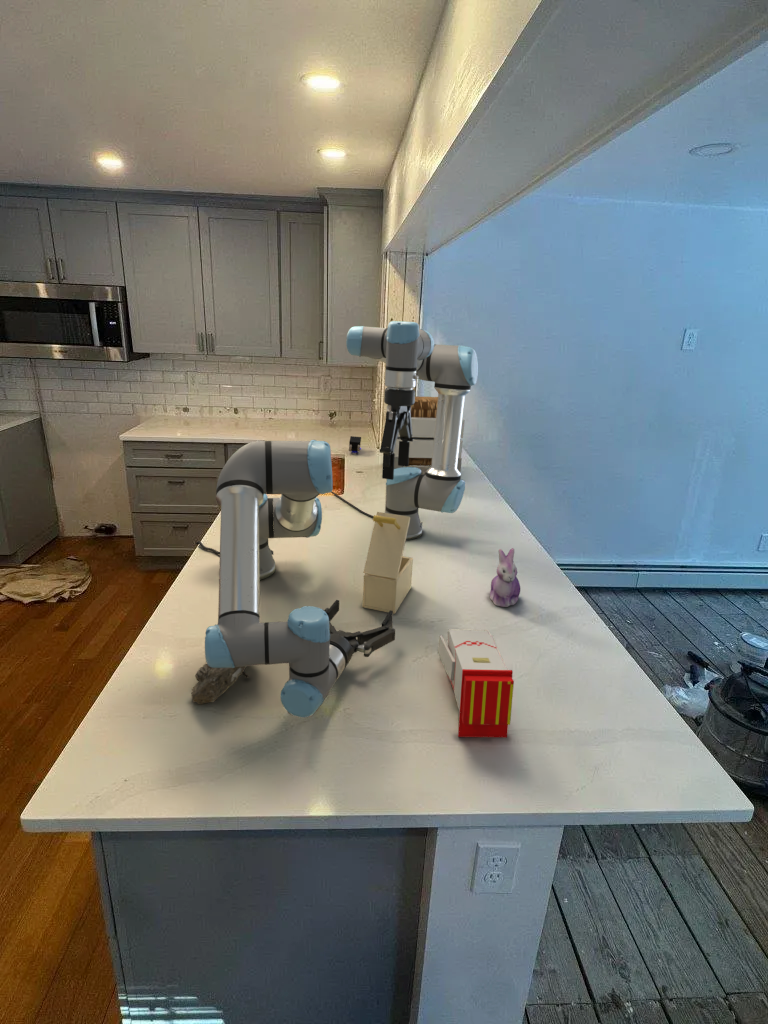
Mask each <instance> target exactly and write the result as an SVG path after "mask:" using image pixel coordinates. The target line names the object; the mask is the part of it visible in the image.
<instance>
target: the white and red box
mask: <svg viewBox="0 0 768 1024" xmlns="http://www.w3.org/2000/svg"><path fill="white" fill-rule="evenodd" d="M446 640H447V643H446V641H445V639H444V636H443V635H442V634H439V637H438V646H437V656H438V657H439V659H440V661H441V663H442V666H443V668H444V670H445V672H446V674H447V677H448V679H449V681H450V684H451V687H452V690H453V693H454V697H455V701H456V705H457V708H458V711H459V714H458V715H459V716H458V730H457V731H458V732H457V737H458V738H508V731H509V726H510V725H511V717H512V707H513V697H514V696H513V695H514V684H515V680H514V679H513V673H514V671H513V670H512V669H508V667H507V665H506V662H505V661H504V659H503V658H502V655H501V653H500V651H499V649H498V647H497V643H496V639H495V637H494V635H493V634H491V632H490V631H489V629H467V628H466V629H465V628H463V629H461V628H460V629H459V628H448V630H447V639H446Z"/></svg>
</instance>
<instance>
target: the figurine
mask: <svg viewBox="0 0 768 1024" xmlns="http://www.w3.org/2000/svg"><path fill="white" fill-rule="evenodd" d="M514 558H515V548H514V547H512V548H511V549H509V551H508V553H507V555H506V554H505V551H503V549H501V548H499V549H498V565H497V568H496V574H497V575H495V576H494V577H493V578H492V579H491V582H490V591H489V599H490V600H491V601H492V602H493V604H494V605H495V606H497V607H503V608H507V607H510V606H514V605H516V603H518V601H519V597H520V594H521V584H520V581H519V579H518V577H517V576H518V569H517V567H516V564H515V561H514Z"/></svg>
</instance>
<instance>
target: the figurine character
mask: <svg viewBox="0 0 768 1024" xmlns="http://www.w3.org/2000/svg"><path fill="white" fill-rule="evenodd" d="M349 437H350V438H349V441H348V442H349V443H348V451H349V452H350V454H351V455H353V454H356V455H358V454H359V452H361V450H362V447H361V443H362V442H361V441H362V436H353V435H351V436H349Z"/></svg>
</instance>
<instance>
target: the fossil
mask: <svg viewBox="0 0 768 1024" xmlns="http://www.w3.org/2000/svg"><path fill="white" fill-rule="evenodd" d="M246 668H247V666H243V667H235V668H212V667H210V666H209V665H208V664H207V663H205V664H203V665H202V666H201V667H200V668H198V670H197V671H196V673H195V676H194V677H195V679H196V681H197V682H196V683H195V685H194V686H193V687H192V688H191V700H192V702H193V703H197V704H198V705H203V704H207V703H214V702H215V701H216V700H218V698H219V697H221V696H222V695H223V694H224V693H226V692H227V690H228V689H229V688H231V686H233V684H235V683H236V682H237V680H238V678H239V677H240V676H241V675H243V676H244V677H245V678H249V675H248V674H247V673H246V672H245V669H246Z"/></svg>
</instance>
